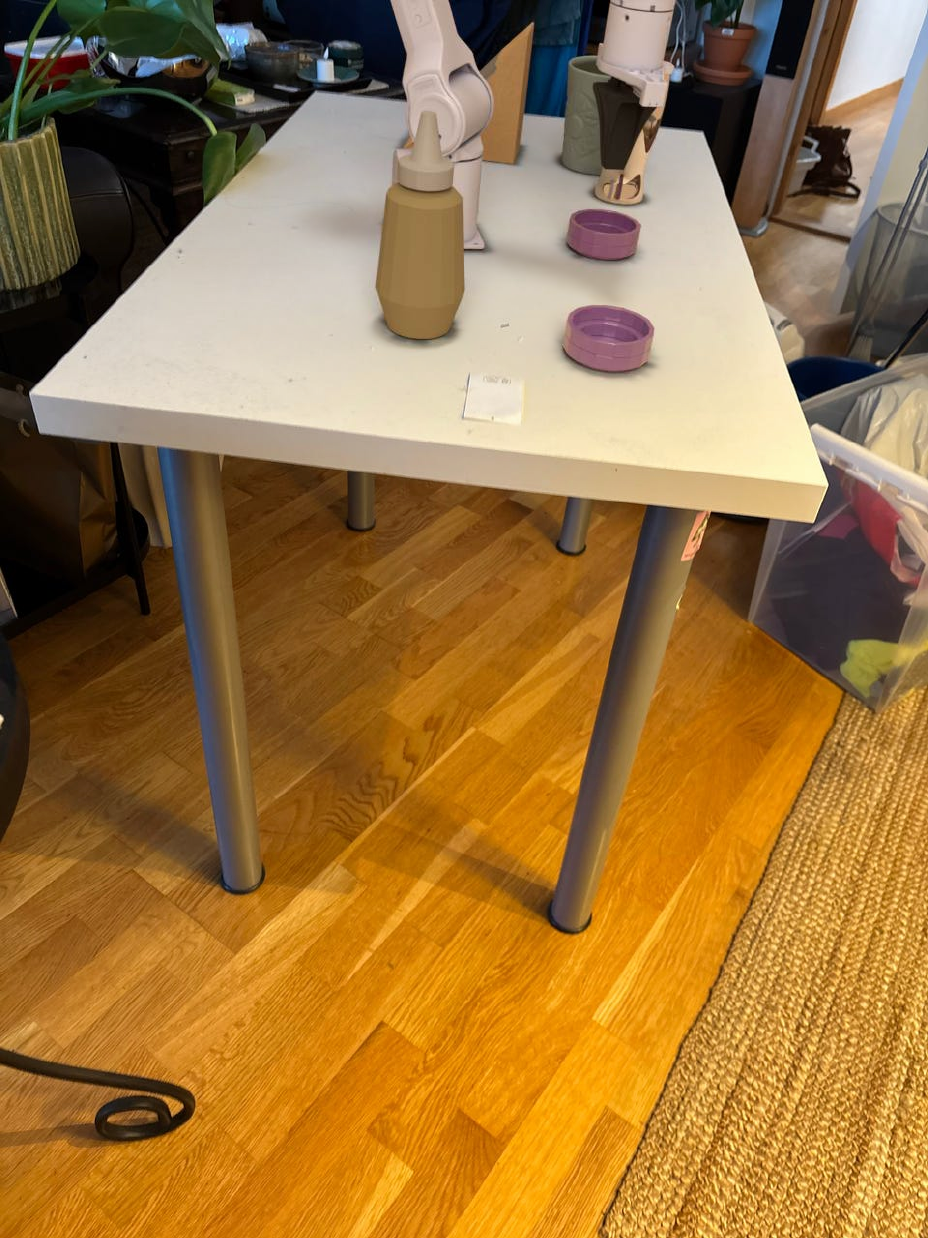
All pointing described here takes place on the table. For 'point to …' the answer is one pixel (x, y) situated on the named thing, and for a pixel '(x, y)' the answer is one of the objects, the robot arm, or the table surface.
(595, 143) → the green vase
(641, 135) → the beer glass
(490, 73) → the sandwich container
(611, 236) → the dish far
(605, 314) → the dish near
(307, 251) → the table surface
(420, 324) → the squeeze bottle
